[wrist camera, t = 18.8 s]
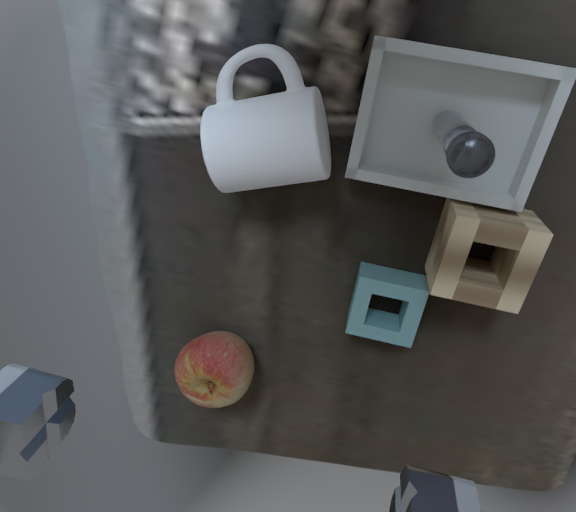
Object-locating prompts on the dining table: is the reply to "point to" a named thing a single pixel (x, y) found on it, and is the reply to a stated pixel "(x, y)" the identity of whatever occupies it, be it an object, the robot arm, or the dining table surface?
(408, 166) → the tray
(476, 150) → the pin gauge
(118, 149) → the dining table surface
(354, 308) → the stand
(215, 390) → the apple
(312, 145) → the mug
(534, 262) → the beech block
